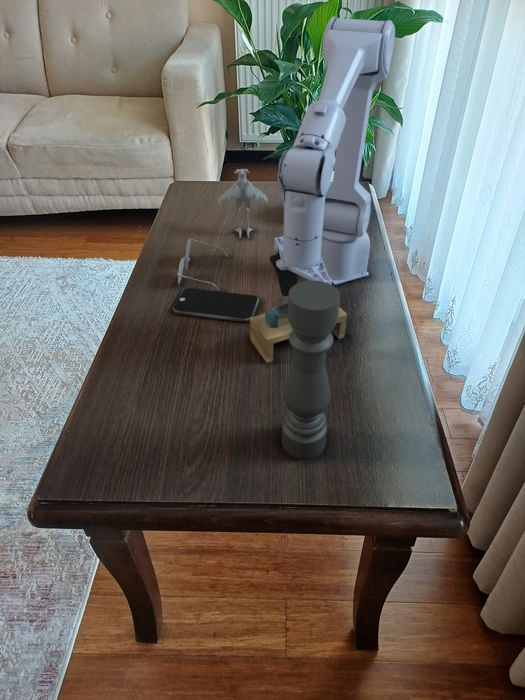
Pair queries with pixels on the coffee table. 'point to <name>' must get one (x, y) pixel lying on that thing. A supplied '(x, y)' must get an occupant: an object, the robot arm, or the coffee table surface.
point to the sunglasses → (189, 261)
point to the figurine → (242, 196)
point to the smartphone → (216, 305)
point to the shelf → (282, 333)
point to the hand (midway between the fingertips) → (299, 306)
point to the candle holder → (309, 367)
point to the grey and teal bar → (277, 316)
